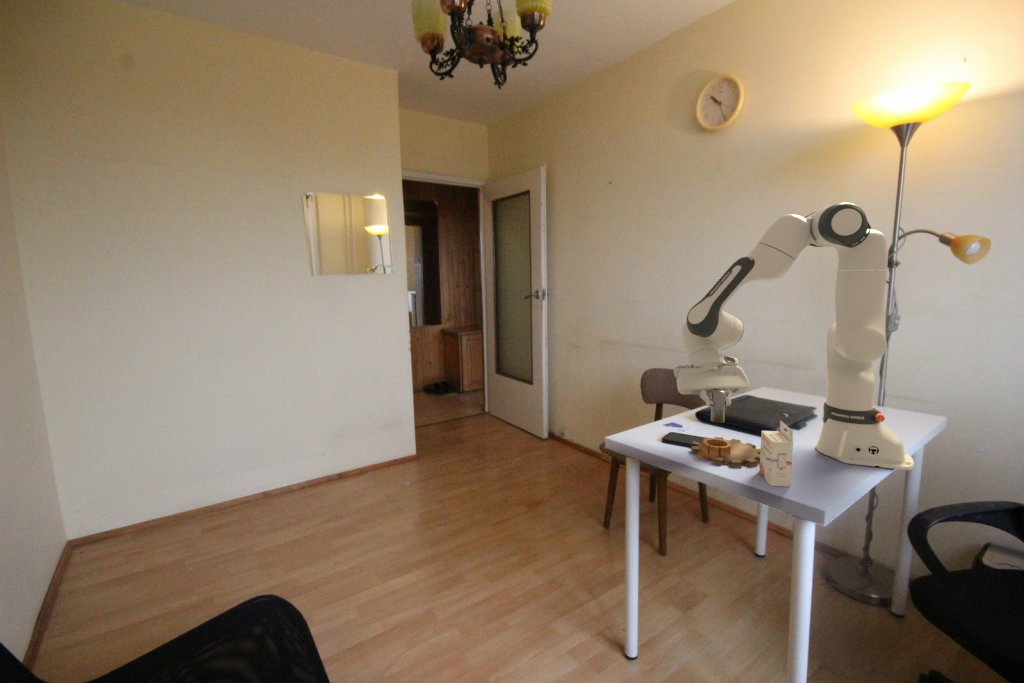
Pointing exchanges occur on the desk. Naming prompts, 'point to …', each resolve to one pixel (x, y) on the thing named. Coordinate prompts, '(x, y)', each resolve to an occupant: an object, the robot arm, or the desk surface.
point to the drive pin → (718, 405)
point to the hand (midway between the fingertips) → (719, 405)
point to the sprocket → (727, 452)
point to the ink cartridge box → (776, 456)
